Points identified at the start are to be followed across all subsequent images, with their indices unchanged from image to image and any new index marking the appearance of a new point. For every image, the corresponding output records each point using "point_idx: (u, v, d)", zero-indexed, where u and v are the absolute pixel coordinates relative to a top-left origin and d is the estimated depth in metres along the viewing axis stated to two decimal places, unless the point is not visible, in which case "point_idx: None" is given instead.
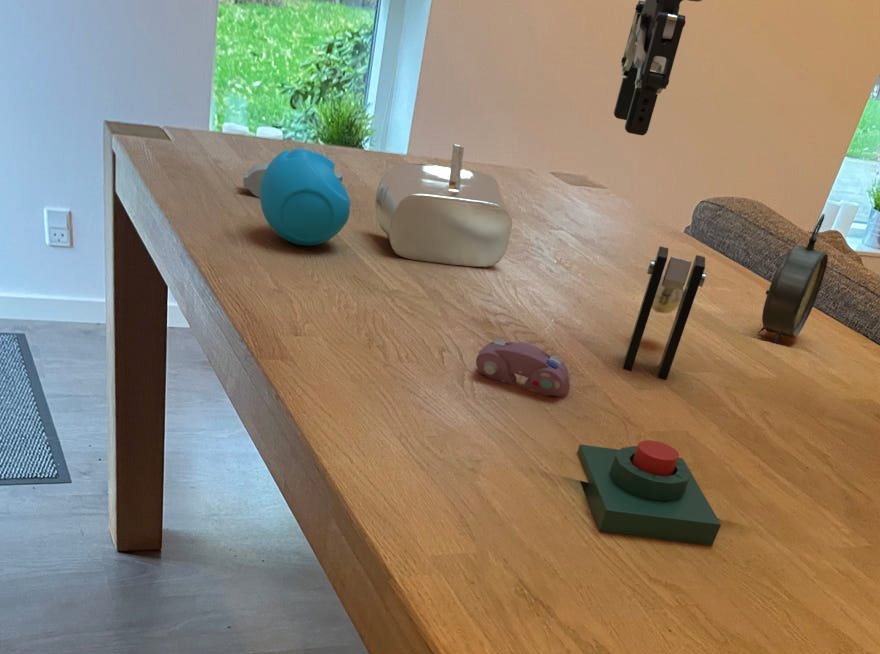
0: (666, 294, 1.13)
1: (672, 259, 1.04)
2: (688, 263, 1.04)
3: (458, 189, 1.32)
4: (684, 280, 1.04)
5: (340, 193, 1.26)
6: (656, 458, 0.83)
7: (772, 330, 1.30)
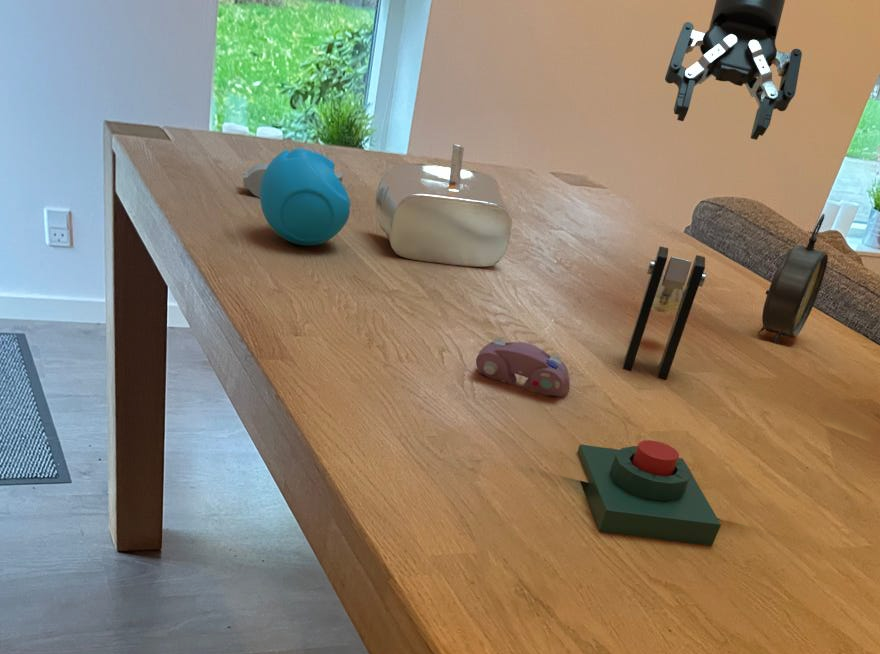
0: (666, 294, 1.13)
1: (672, 259, 1.04)
2: (688, 263, 1.04)
3: (458, 189, 1.32)
4: (684, 280, 1.04)
5: (340, 193, 1.26)
6: (656, 458, 0.83)
7: (772, 330, 1.30)
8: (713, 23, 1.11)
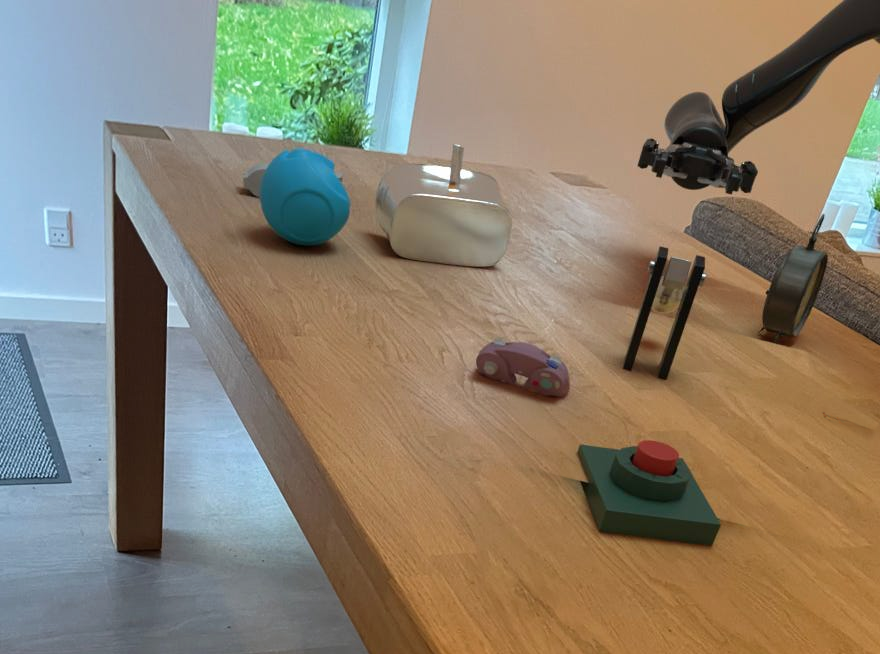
0: (666, 294, 1.13)
1: (672, 259, 1.04)
2: (688, 263, 1.04)
3: (458, 189, 1.32)
4: (684, 280, 1.04)
5: (340, 193, 1.26)
6: (656, 458, 0.83)
7: (772, 330, 1.30)
8: None
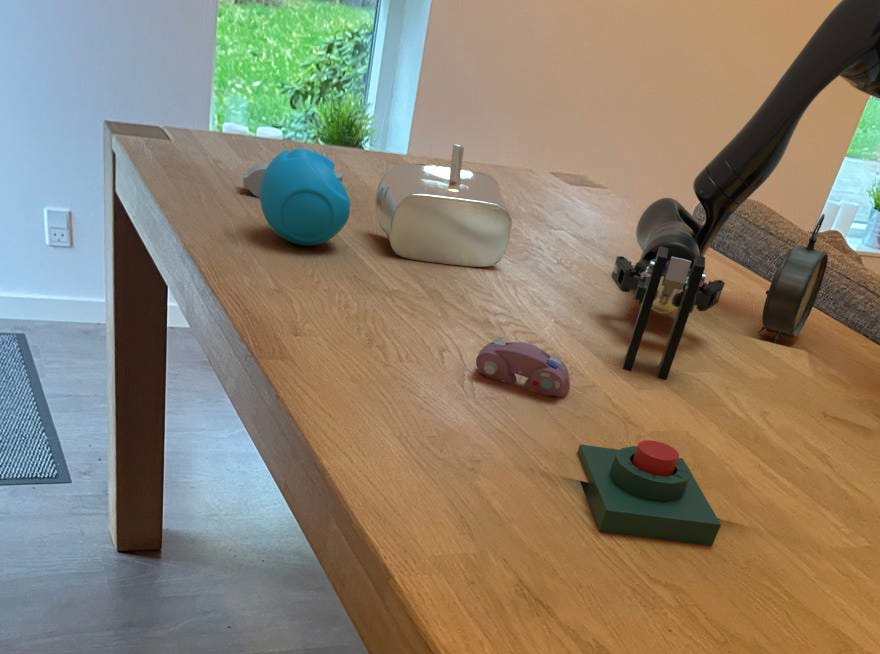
0: (666, 294, 1.13)
1: (672, 259, 1.04)
2: (688, 263, 1.04)
3: (458, 189, 1.32)
4: (684, 280, 1.04)
5: (340, 193, 1.26)
6: (656, 458, 0.83)
7: (772, 330, 1.30)
8: (642, 260, 1.23)
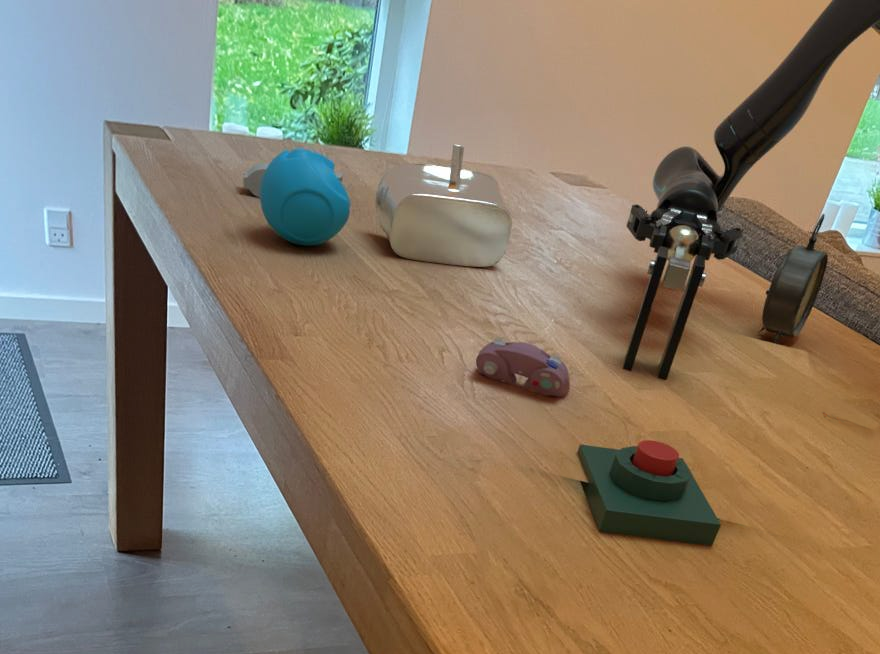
0: None
1: (670, 267, 1.04)
2: (686, 271, 1.04)
3: (458, 189, 1.32)
4: (681, 287, 1.05)
5: (340, 193, 1.26)
6: (656, 458, 0.83)
7: (772, 330, 1.30)
8: (658, 209, 1.20)
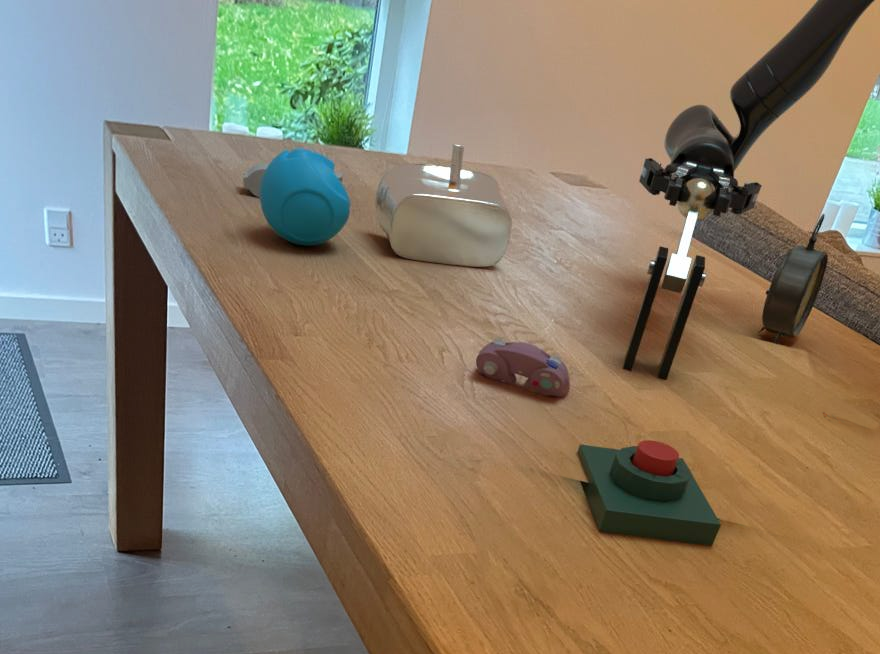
0: None
1: (667, 276, 1.04)
2: (683, 280, 1.04)
3: (458, 189, 1.32)
4: (680, 291, 1.06)
5: (340, 193, 1.26)
6: (656, 458, 0.83)
7: (772, 330, 1.30)
8: (672, 164, 1.15)
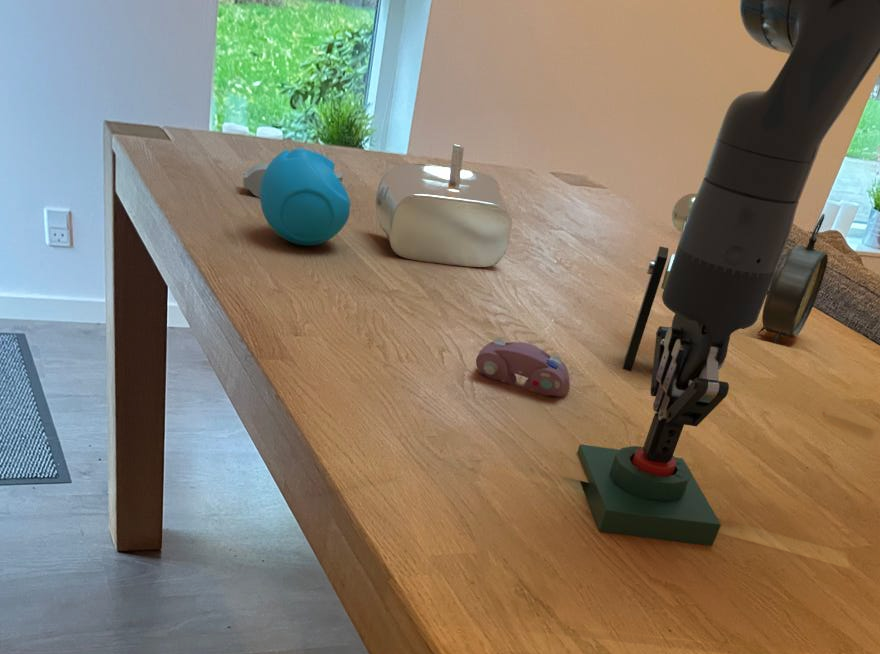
0: None
1: (668, 273, 1.04)
2: None
3: (458, 189, 1.32)
4: None
5: (340, 193, 1.26)
6: (653, 466, 0.83)
7: (772, 330, 1.30)
8: (729, 334, 0.75)
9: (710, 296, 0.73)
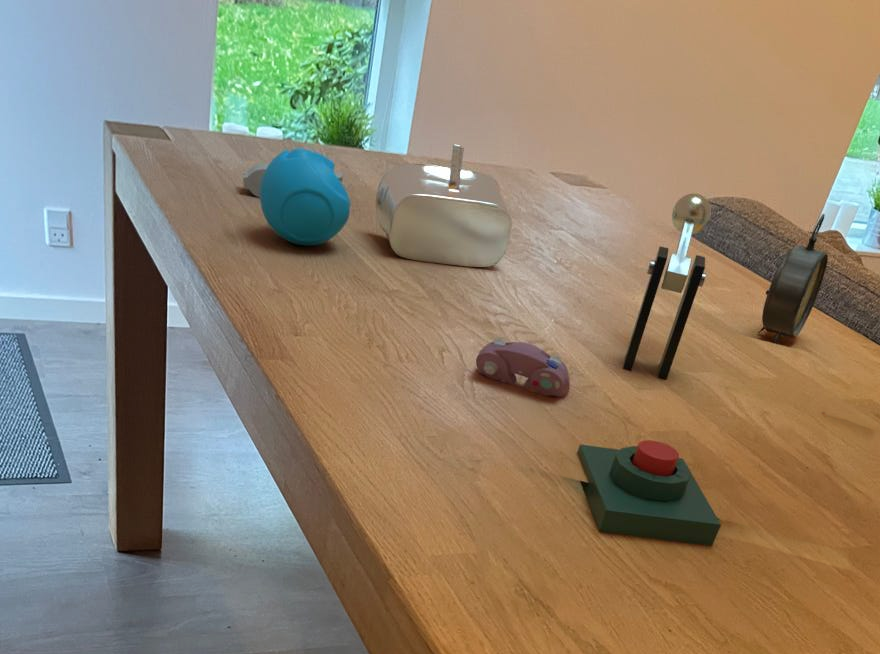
0: None
1: (668, 273, 1.04)
2: (684, 277, 1.04)
3: (458, 189, 1.32)
4: (680, 290, 1.05)
5: (340, 193, 1.26)
6: (656, 458, 0.83)
7: (772, 330, 1.30)
8: None
9: None
